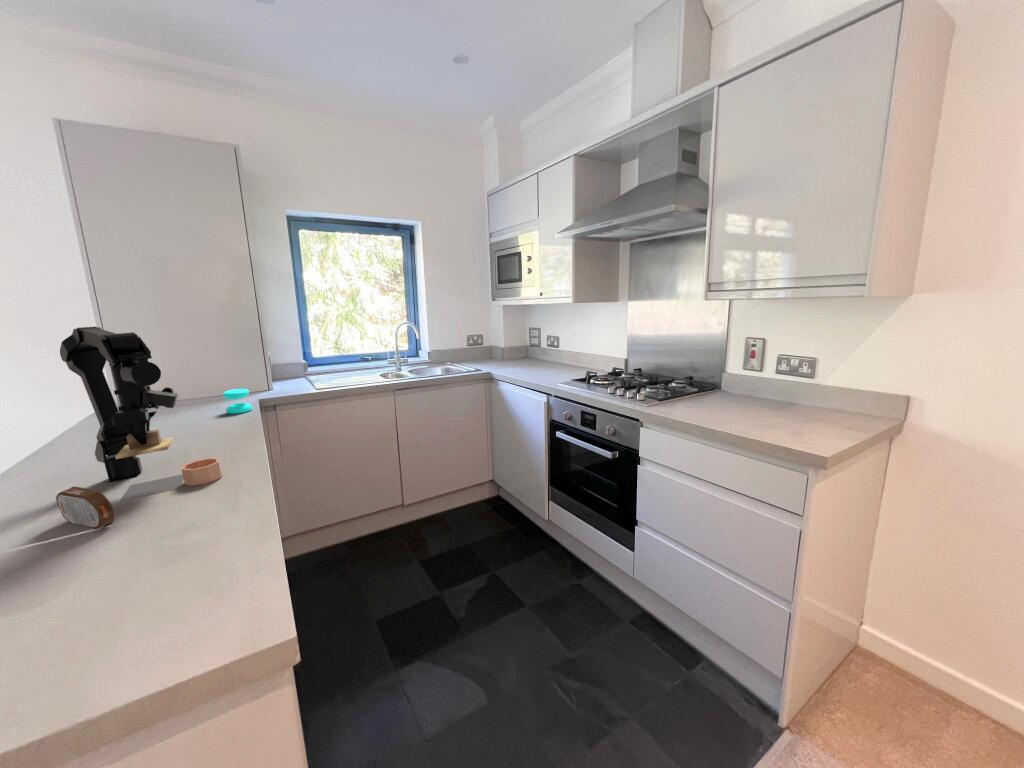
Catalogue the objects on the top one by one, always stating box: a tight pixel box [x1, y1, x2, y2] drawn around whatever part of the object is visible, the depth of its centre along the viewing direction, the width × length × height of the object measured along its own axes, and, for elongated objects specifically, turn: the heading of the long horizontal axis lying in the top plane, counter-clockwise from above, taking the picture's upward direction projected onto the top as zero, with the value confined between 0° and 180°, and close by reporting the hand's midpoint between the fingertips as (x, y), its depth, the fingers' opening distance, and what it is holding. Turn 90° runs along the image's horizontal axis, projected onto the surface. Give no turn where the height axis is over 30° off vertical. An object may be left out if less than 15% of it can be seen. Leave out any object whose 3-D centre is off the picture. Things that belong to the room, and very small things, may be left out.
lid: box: [115, 429, 175, 459], centre depth 109 cm, size 10×10×4 cm
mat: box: [118, 473, 184, 503], centre depth 112 cm, size 12×12×1 cm
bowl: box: [181, 457, 223, 487], centre depth 114 cm, size 8×8×5 cm
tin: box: [55, 486, 116, 530], centre depth 93 cm, size 15×3×8 cm, turn 71°
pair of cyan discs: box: [222, 388, 253, 415], centre depth 191 cm, size 10×10×10 cm
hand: (145, 442), depth 109 cm, fingers closed on lid, 2 cm apart
